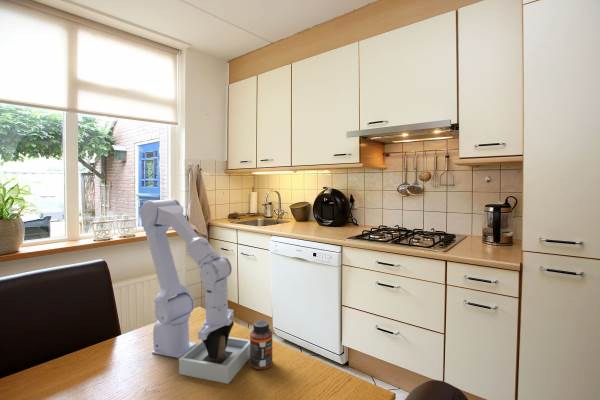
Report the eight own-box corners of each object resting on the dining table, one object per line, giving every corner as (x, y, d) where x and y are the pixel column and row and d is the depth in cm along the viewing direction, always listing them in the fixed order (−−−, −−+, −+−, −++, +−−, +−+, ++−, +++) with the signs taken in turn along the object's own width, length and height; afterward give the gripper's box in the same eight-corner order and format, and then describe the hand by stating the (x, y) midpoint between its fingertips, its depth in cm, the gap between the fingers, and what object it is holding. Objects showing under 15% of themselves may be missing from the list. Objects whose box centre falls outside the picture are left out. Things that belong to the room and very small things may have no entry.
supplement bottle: (268, 372, 83) (268, 329, 83) (246, 369, 85) (246, 327, 84) (275, 359, 89) (274, 319, 89) (254, 357, 90) (254, 317, 90)
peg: (207, 361, 86) (206, 340, 86) (215, 354, 90) (215, 333, 89) (220, 364, 85) (220, 342, 84) (228, 356, 89) (228, 335, 88)
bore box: (179, 374, 83) (178, 358, 82) (209, 346, 96) (209, 333, 96) (228, 383, 79) (227, 368, 78) (252, 353, 92) (252, 340, 92)
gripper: (215, 316, 78) (216, 370, 79) (242, 295, 92) (243, 342, 93) (190, 313, 80) (191, 366, 81) (220, 293, 94) (221, 338, 95)
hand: (217, 353), depth 87 cm, fingers closed on peg, 4 cm apart
